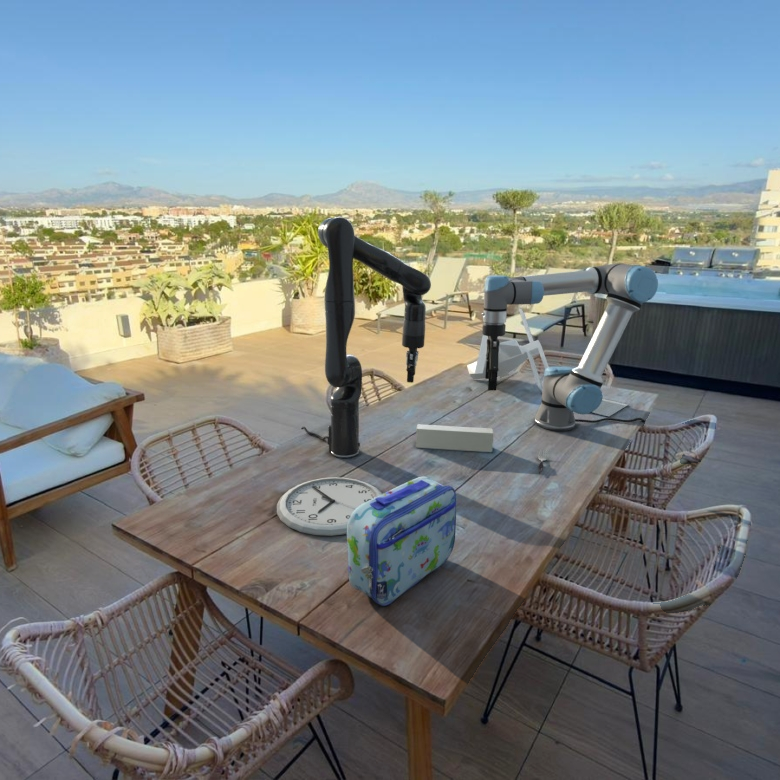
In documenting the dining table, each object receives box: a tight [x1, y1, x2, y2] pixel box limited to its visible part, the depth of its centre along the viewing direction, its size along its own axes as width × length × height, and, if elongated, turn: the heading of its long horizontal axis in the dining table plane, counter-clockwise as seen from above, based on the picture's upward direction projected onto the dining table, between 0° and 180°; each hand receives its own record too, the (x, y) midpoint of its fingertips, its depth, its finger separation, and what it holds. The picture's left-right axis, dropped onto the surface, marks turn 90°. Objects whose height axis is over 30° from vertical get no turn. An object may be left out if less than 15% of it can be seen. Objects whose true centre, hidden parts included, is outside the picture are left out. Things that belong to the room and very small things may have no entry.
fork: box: [538, 449, 548, 474], centre depth 169 cm, size 3×16×2 cm, turn 160°
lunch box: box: [346, 475, 457, 607], centre depth 111 cm, size 26×11×21 cm, turn 134°
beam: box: [415, 423, 495, 453], centre depth 181 cm, size 26×4×7 cm, turn 83°
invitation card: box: [591, 398, 629, 418], centre depth 226 cm, size 21×1×15 cm
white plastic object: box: [466, 308, 550, 392], centre depth 255 cm, size 37×45×31 cm
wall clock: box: [276, 476, 384, 537], centre depth 142 cm, size 30×2×30 cm
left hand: (411, 378), depth 181 cm, fingers open, 8 cm apart
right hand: (490, 384), depth 180 cm, fingers open, 13 cm apart
